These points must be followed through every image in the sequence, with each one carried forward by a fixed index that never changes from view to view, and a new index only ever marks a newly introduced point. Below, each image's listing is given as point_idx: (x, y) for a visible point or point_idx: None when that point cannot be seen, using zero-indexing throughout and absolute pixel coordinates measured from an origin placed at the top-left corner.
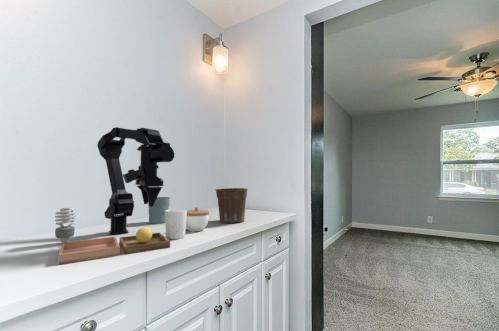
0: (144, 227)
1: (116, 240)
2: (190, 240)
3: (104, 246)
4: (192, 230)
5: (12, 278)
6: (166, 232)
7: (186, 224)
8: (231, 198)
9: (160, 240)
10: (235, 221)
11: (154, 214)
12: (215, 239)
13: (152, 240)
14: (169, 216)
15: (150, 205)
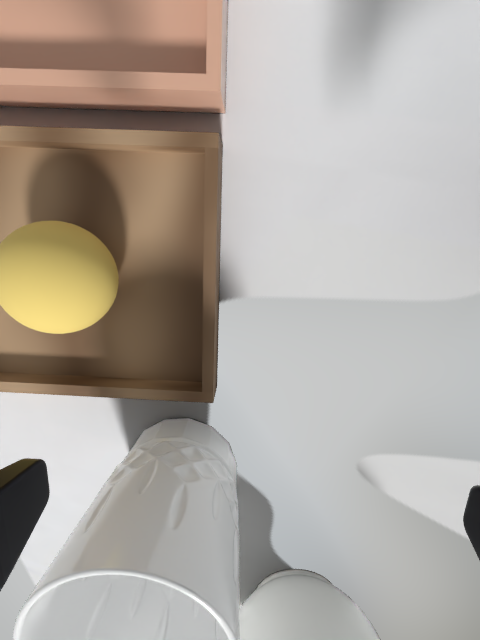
0: (21, 288)
1: (71, 83)
2: (75, 495)
3: (137, 23)
4: (270, 580)
5: None
6: (176, 436)
7: (286, 595)
8: None
9: (94, 366)
10: None
11: None
12: (36, 584)
13: (118, 328)
14: (76, 538)
15: (8, 480)
